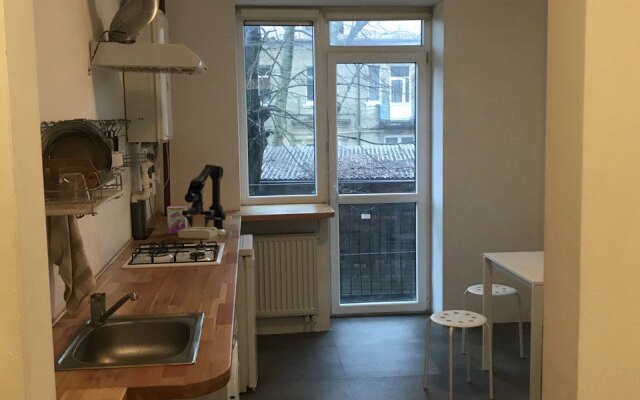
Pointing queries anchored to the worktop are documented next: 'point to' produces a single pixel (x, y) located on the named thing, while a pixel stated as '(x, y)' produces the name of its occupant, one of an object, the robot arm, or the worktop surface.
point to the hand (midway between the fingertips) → (198, 227)
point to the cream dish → (221, 231)
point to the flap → (201, 227)
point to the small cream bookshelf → (197, 233)
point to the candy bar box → (176, 219)
